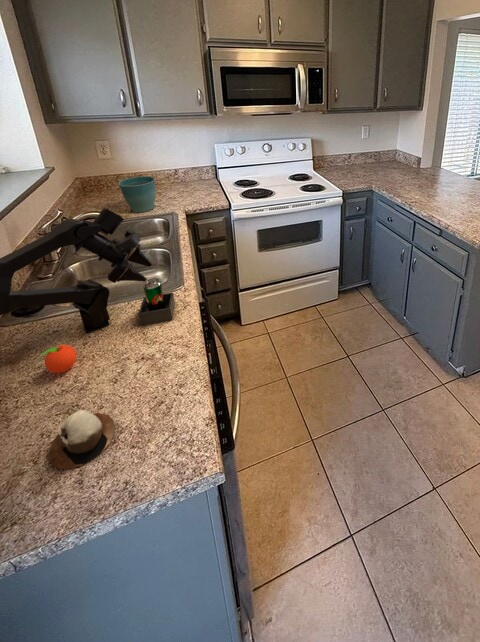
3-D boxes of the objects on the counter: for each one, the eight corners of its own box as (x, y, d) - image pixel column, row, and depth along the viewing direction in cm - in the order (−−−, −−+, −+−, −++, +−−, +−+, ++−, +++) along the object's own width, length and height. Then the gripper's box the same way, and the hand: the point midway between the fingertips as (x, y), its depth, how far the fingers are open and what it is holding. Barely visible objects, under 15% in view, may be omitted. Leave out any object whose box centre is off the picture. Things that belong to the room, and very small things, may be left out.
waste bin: (141, 325, 112) (138, 314, 111) (146, 307, 120) (143, 297, 119) (172, 319, 115) (170, 308, 113) (175, 303, 123) (173, 292, 121)
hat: (31, 450, 75) (57, 399, 77) (79, 442, 83) (101, 397, 86) (58, 481, 69) (85, 424, 71) (107, 470, 77) (130, 419, 80)
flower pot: (129, 218, 192) (122, 188, 186) (121, 208, 205) (115, 180, 199) (164, 209, 203) (158, 181, 197) (154, 201, 216) (149, 174, 210)
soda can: (151, 309, 119) (144, 278, 114) (167, 306, 120) (161, 276, 116) (148, 319, 114) (141, 287, 110) (165, 316, 116) (158, 285, 111)
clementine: (39, 382, 92) (30, 361, 89) (50, 362, 98) (42, 342, 96) (74, 375, 94) (67, 354, 91) (83, 356, 100) (76, 336, 98)
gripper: (110, 241, 100) (160, 269, 107) (126, 216, 116) (168, 241, 123) (86, 269, 101) (136, 295, 108) (105, 240, 117) (147, 264, 124)
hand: (148, 272), depth 116 cm, fingers open, 9 cm apart
